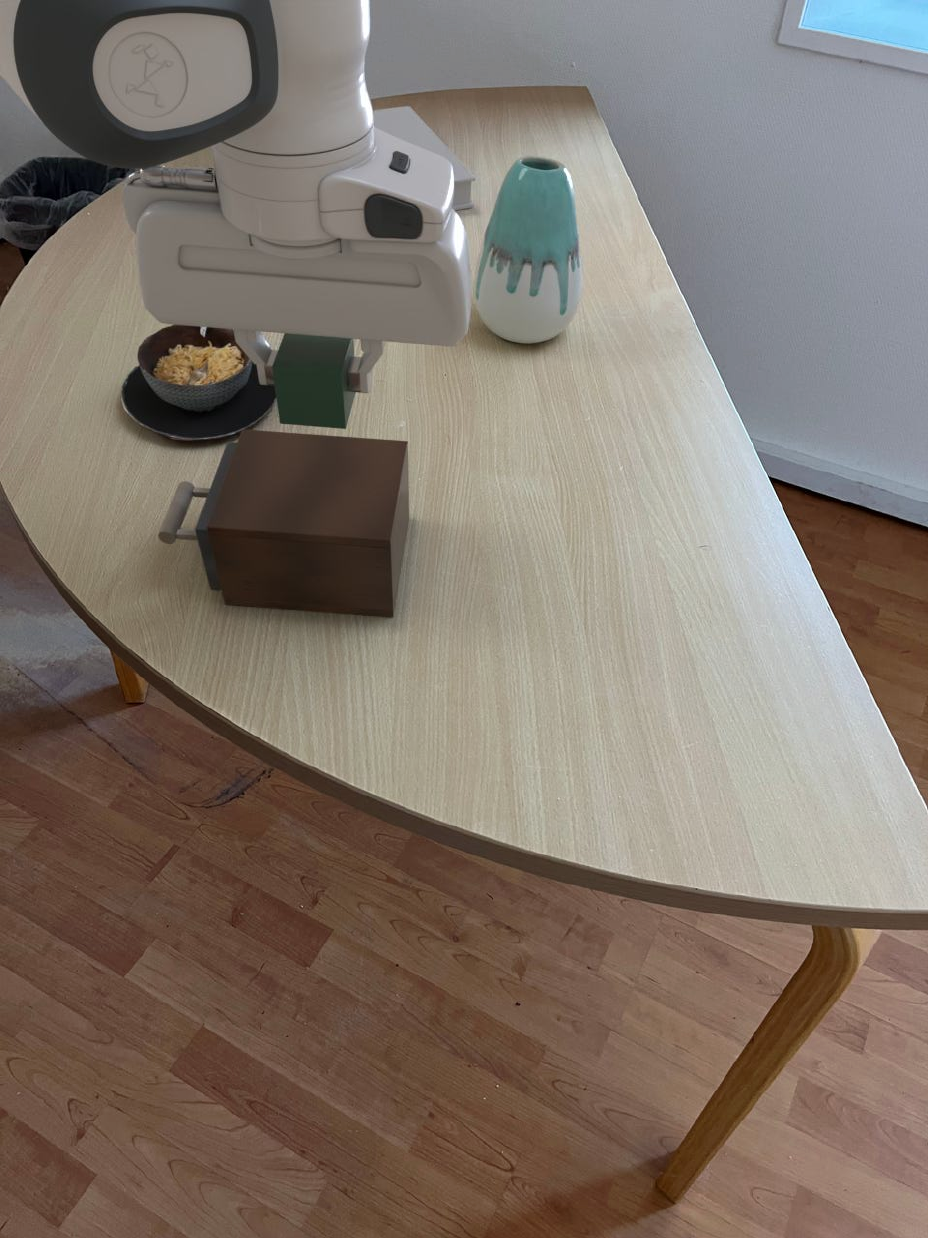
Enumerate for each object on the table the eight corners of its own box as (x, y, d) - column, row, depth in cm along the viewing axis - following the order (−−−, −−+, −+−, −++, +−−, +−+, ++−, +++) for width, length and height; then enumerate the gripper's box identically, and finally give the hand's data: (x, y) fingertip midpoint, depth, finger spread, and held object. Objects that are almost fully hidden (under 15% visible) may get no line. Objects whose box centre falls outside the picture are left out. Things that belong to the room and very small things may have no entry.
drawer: (159, 586, 74) (139, 524, 69) (193, 499, 81) (177, 437, 76) (365, 602, 74) (361, 541, 69) (382, 513, 81) (379, 452, 75)
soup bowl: (92, 420, 89) (70, 353, 83) (191, 337, 99) (177, 272, 93) (224, 465, 85) (210, 398, 80) (312, 375, 95) (306, 309, 89)
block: (279, 423, 62) (271, 366, 59) (293, 384, 65) (286, 327, 62) (346, 429, 62) (341, 372, 59) (356, 389, 65) (353, 333, 62)
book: (409, 105, 131) (475, 177, 117) (409, 133, 134) (474, 207, 120) (284, 121, 126) (337, 198, 112) (287, 150, 129) (339, 229, 115)
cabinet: (224, 604, 74) (206, 527, 68) (256, 507, 82) (241, 428, 75) (393, 617, 74) (390, 540, 68) (409, 518, 82) (408, 440, 75)
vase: (527, 288, 108) (543, 125, 94) (598, 332, 102) (625, 166, 88) (450, 320, 103) (454, 153, 89) (519, 369, 97) (535, 199, 83)
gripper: (94, 186, 50) (150, 399, 60) (471, 215, 49) (462, 425, 60) (131, 138, 54) (177, 345, 65) (479, 164, 54) (469, 369, 64)
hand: (317, 384), depth 62 cm, fingers closed on block, 4 cm apart
